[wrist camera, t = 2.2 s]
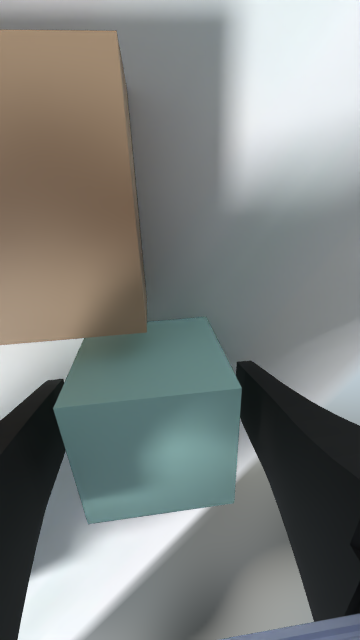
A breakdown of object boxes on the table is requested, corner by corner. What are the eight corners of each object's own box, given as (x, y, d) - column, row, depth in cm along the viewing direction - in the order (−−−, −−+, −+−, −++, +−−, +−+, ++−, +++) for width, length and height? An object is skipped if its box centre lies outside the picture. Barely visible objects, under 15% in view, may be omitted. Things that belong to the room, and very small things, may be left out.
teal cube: (205, 404, 14) (234, 503, 9) (107, 415, 14) (88, 524, 9) (205, 315, 12) (241, 388, 7) (89, 325, 12) (53, 408, 7)
